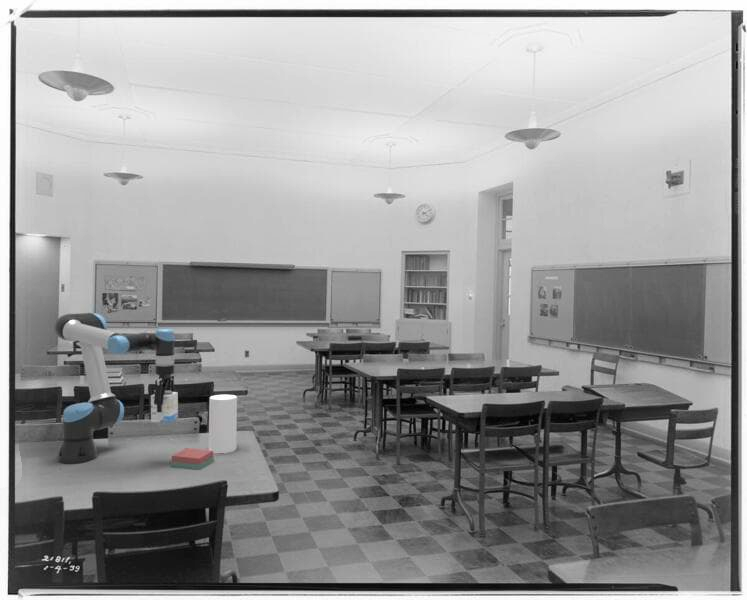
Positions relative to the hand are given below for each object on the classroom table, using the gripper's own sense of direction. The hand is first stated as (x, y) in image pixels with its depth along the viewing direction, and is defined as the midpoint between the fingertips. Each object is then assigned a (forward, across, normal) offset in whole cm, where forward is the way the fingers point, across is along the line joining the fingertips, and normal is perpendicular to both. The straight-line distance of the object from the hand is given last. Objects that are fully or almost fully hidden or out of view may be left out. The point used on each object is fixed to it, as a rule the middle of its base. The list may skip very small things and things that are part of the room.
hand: (164, 417), depth 240 cm
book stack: (+20, 0, -12) cm, 24 cm away
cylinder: (+20, +22, -18) cm, 35 cm away
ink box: (+2, 0, 0) cm, 2 cm away
